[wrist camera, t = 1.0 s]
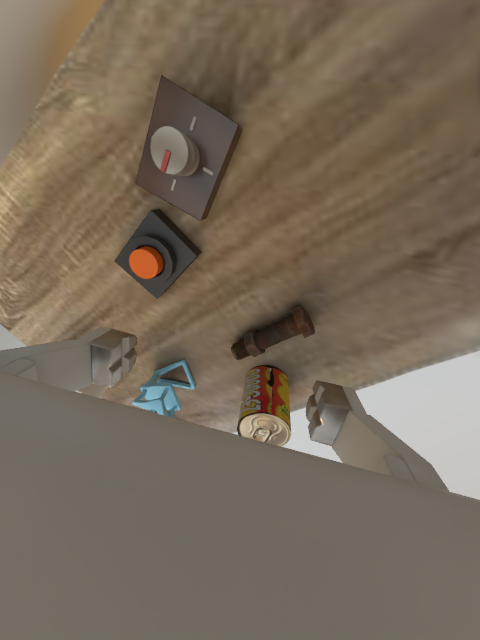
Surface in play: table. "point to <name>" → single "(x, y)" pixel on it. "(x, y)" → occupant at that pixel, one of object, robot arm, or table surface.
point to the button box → (160, 251)
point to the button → (146, 262)
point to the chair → (163, 391)
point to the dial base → (211, 139)
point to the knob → (174, 152)
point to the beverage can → (265, 406)
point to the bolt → (274, 334)
